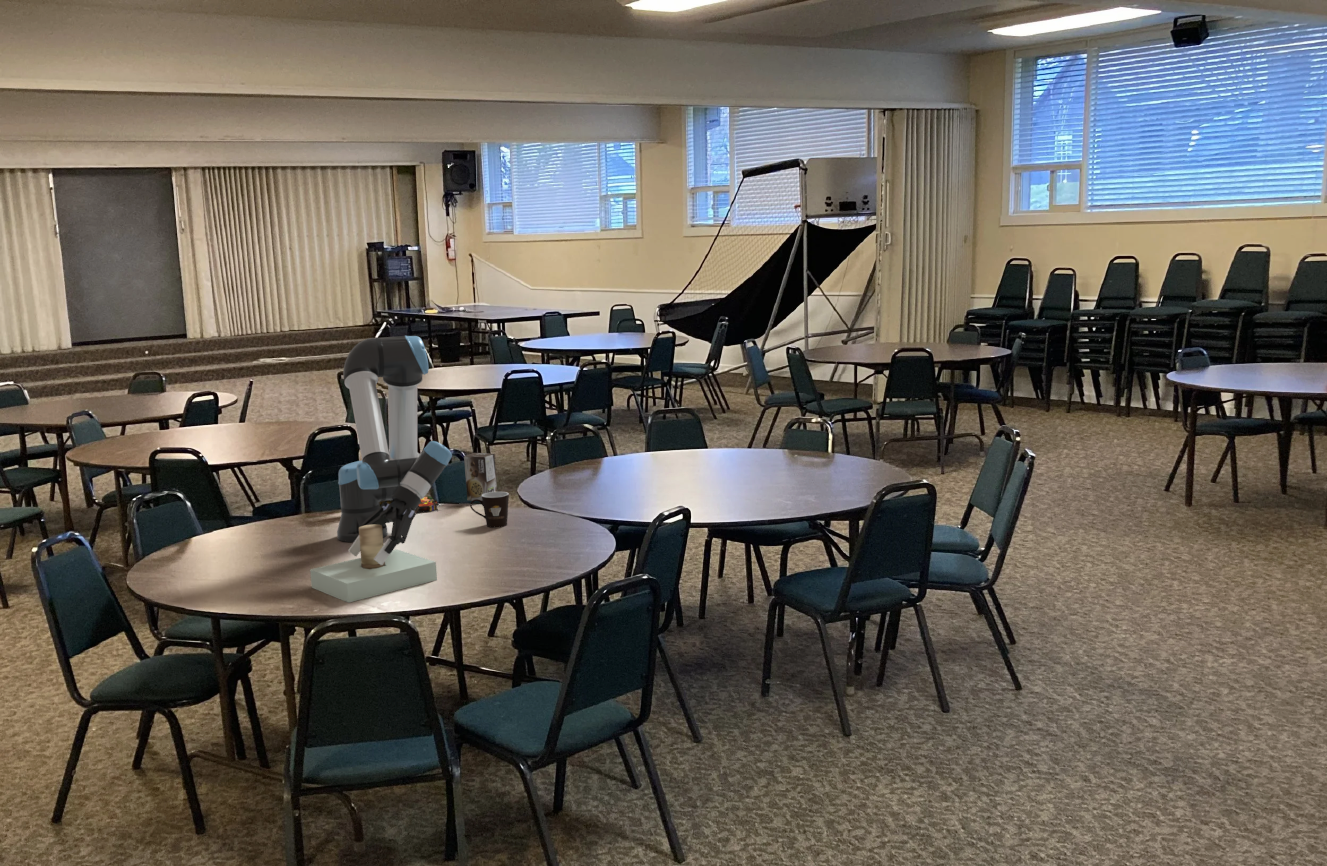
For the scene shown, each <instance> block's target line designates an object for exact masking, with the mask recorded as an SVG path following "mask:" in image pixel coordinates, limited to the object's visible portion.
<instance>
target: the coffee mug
mask: <svg viewBox="0 0 1327 866" xmlns="http://www.w3.org/2000/svg"><path fill="white" fill-rule="evenodd" d="M481 496H482V501H481V500H478V499H475V500H473V501H471V502H470V505H469V507H470V509H471V510H472V511H473V512H474V513H475V514H477V515H478V516H481V518H482V517H483V518H484V519H485V523H486V526H487V528H491V529H493V528H495V529H496V528H502V527H503V528H504V527H506V526H508V516H509V515H508V514H509V497H510V493H509V492H507V491H497V492H489V493H485V494H482V495H481ZM475 502H479V503H480V504H481V506H482V507H483V512H484V514H482V513H480V512H478V511H477V510H476V509H474V507H473V506H472V505H473V503H475Z"/></svg>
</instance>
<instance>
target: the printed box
mask: <svg viewBox="0 0 1327 866" xmlns="http://www.w3.org/2000/svg"><path fill="white" fill-rule="evenodd" d="M463 459H464V460H463V462H464V472H465V474H464V476H465V485H466V497H467V499H466V500H467V501H471V502H472V501H473V500H475V499H478V500H481V501H482V496H481V495H482V494H485V493H489V492H498V487H497V469H496V454H495V453H491V452H490V453H486V452H485V453H484V452H483V453H482V452H472V453H469V454H467V455H464V456H463Z"/></svg>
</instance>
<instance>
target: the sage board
mask: <svg viewBox="0 0 1327 866" xmlns="http://www.w3.org/2000/svg"><path fill="white" fill-rule="evenodd" d="M309 572H310V585H311V589H314V590H316V591H319V592H321V593H324V594H326V595H329V596H332V597H333V598H336V599H339V600H341V601H343V602H346V603H353V602H356V601H360V600H365V599H369V598H371V597H376V596H379V595H380V596H381V595H383V594H384V595H385V594H388V593H391V592H396V591H399V590H403V589H407V588H412V587H414V586H419V585H423V584H426V583H427V584H428V583H431V582H434V581H437V580H438V575H437V573H438V572H437V561H434V560H431V559H428V558H425V557H421V556H419V555H416V554H412V553H410V552H407V551H404V550H401V549H393V550H392V552H391V553H390V555H389V556H388V558H387V559H386V560H385V566H383V567H380V568H374V569H365V568H362V566H361V557H358V558H353V559H349V560H345V561H341V562H337V563H331V564H327V565H323V566H319V567H314V568H311V569H309Z"/></svg>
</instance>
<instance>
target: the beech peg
mask: <svg viewBox="0 0 1327 866" xmlns="http://www.w3.org/2000/svg"><path fill="white" fill-rule="evenodd" d="M359 539H360V558H361V566H362V568H365V569H374V568H380V567H383V566H385V562H384V563H383V565H380V564H379V563H378V562H376V561H375V560H374V558H375V556H376V555H377V554H378V552H379V551H380V549H381V548H382V546H383V545H384V537H383V532H382V525H378V524H372V525H364V526H361V527H359Z"/></svg>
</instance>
